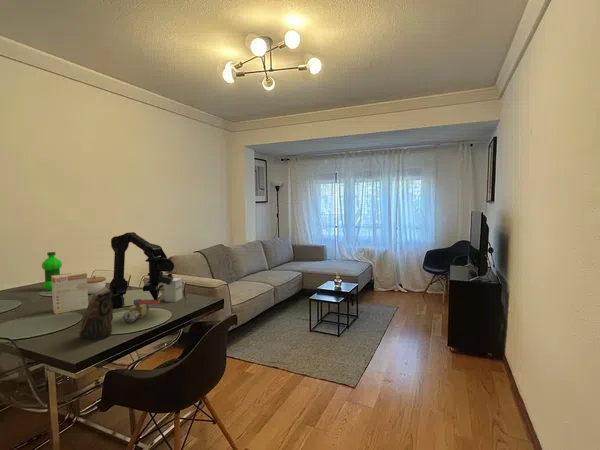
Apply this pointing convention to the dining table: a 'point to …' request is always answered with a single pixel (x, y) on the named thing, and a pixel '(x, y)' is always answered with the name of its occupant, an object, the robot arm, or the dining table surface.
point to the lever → (145, 302)
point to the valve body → (135, 312)
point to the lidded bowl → (95, 284)
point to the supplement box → (173, 290)
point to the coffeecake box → (69, 292)
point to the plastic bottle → (51, 269)
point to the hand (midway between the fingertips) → (156, 300)
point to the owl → (98, 316)
